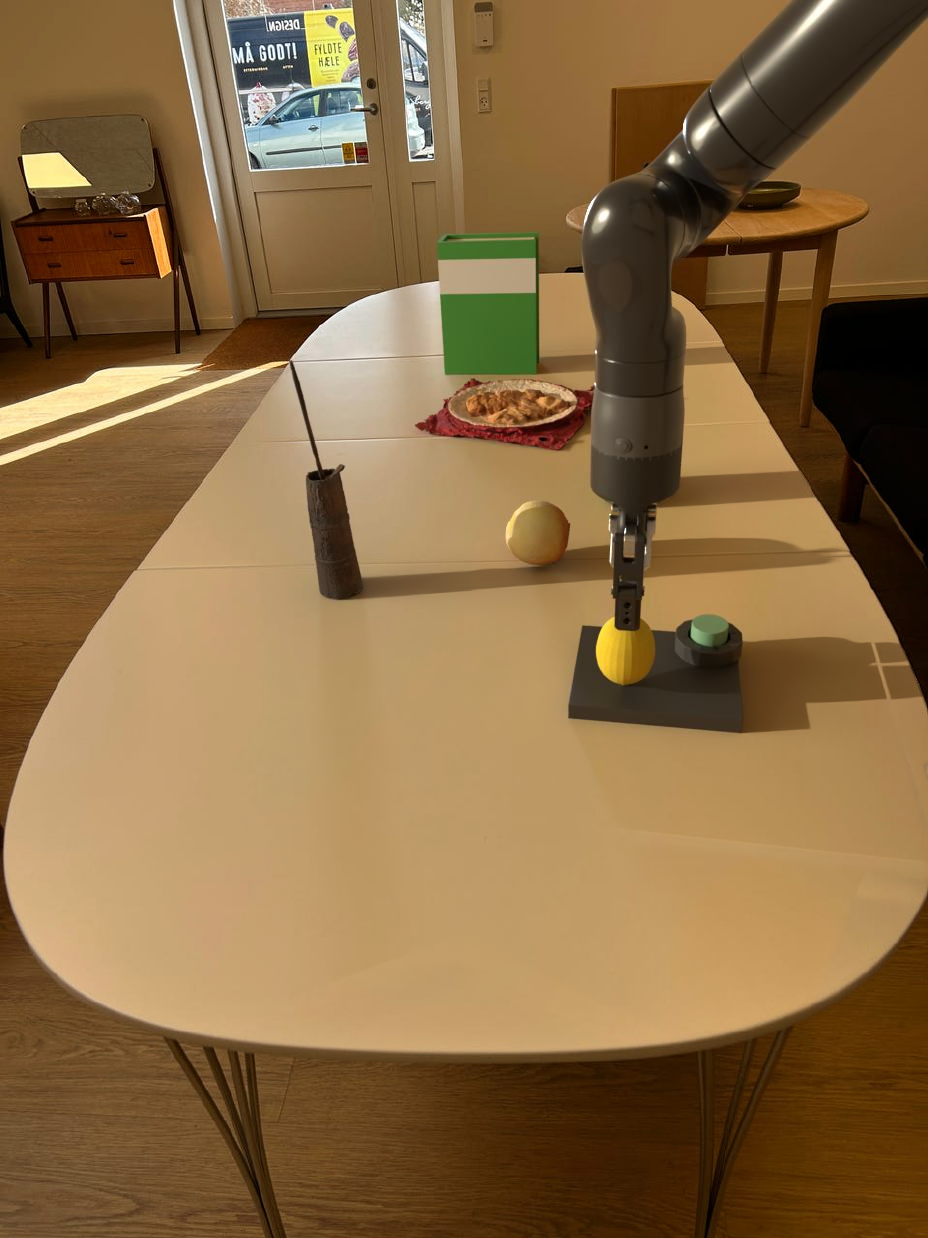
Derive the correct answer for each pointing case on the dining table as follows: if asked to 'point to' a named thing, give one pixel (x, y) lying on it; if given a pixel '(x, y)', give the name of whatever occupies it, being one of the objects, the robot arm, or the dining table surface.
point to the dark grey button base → (664, 684)
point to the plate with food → (512, 412)
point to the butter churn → (329, 523)
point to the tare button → (709, 630)
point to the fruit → (538, 533)
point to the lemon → (625, 652)
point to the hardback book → (489, 302)
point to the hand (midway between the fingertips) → (629, 603)
